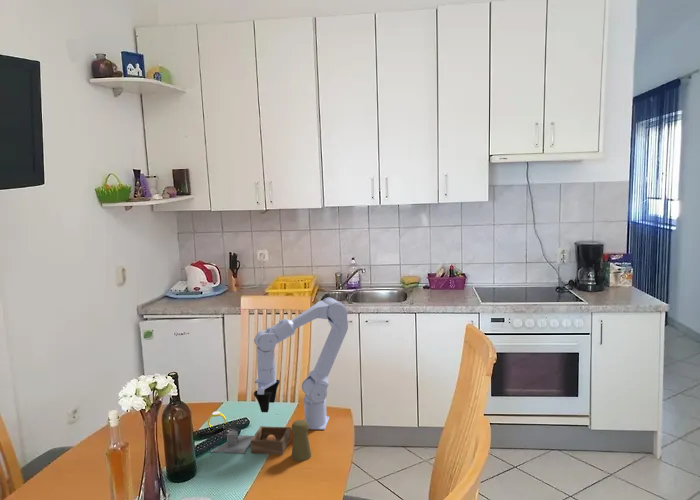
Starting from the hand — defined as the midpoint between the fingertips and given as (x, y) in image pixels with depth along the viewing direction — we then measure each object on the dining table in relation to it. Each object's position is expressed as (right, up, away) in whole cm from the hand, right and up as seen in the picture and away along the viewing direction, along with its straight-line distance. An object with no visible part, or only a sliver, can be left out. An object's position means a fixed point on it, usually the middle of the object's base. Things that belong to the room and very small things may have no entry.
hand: (268, 406), depth 175 cm
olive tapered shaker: (+12, -11, -14) cm, 22 cm away
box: (+2, -10, -7) cm, 13 cm away
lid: (-11, -11, -5) cm, 16 cm away
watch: (-18, -10, +6) cm, 21 cm away
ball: (+2, -8, -7) cm, 11 cm away
